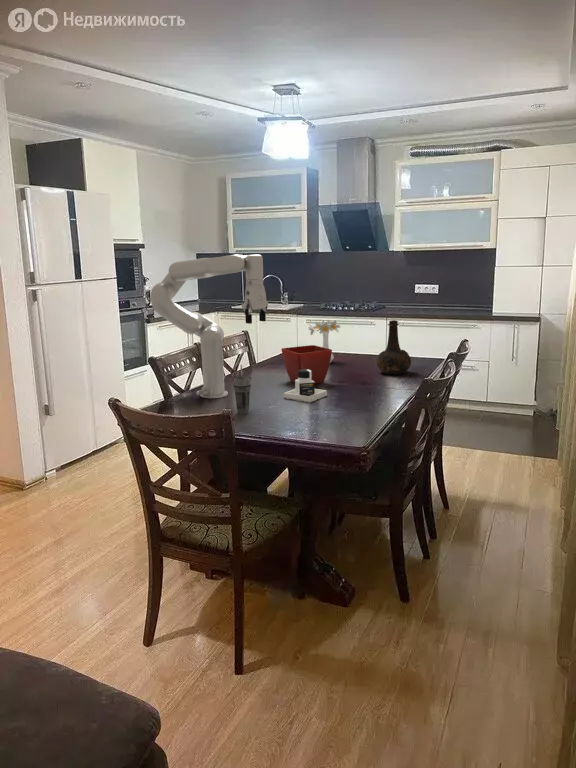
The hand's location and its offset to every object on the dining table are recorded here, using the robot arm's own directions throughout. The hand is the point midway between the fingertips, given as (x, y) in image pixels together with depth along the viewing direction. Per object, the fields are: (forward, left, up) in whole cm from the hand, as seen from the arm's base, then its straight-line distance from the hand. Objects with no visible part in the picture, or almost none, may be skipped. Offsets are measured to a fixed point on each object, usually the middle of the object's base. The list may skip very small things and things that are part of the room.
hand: (255, 322), depth 259 cm
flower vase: (+82, +16, -34) cm, 90 cm away
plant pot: (+34, -4, -34) cm, 48 cm away
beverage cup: (-27, -14, -34) cm, 45 cm away
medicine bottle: (+8, -21, -33) cm, 40 cm away
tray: (+8, -21, -33) cm, 40 cm away
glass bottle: (+76, -31, -34) cm, 89 cm away
